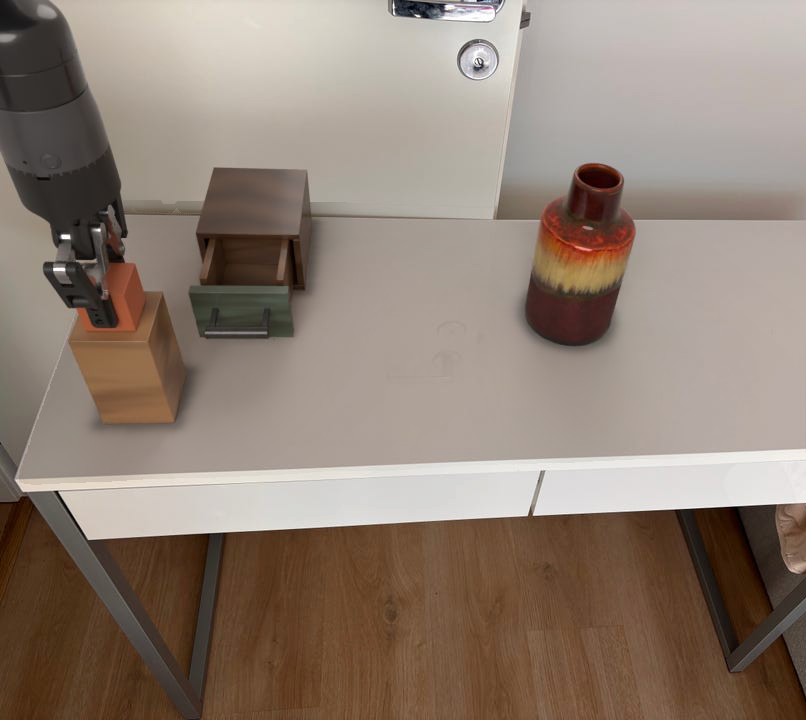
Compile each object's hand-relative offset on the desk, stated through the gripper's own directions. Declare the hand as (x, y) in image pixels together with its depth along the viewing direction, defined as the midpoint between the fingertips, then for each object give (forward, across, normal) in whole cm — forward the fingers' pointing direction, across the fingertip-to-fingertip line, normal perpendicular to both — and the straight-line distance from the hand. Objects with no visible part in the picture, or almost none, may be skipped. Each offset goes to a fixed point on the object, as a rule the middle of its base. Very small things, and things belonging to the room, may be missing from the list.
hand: (113, 305), depth 71 cm
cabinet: (+13, -24, +10) cm, 29 cm away
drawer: (+12, -12, +10) cm, 20 cm away
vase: (+13, -13, +48) cm, 51 cm away
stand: (+13, 0, 0) cm, 13 cm away
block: (+1, 0, 0) cm, 1 cm away
